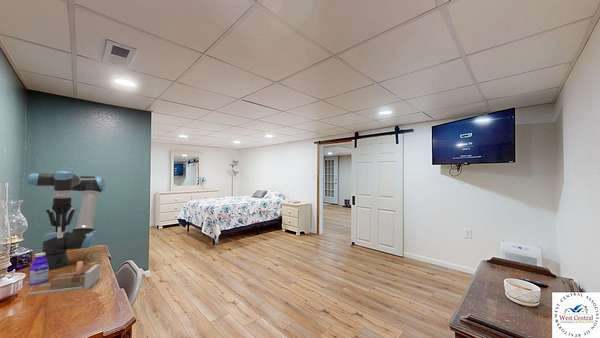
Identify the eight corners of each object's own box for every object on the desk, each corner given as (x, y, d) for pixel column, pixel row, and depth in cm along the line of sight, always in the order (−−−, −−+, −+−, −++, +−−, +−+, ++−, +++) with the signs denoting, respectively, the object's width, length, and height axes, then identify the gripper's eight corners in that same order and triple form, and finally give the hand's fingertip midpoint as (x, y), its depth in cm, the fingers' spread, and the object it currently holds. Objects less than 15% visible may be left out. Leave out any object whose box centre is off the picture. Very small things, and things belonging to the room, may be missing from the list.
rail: (38, 288, 127) (40, 269, 128) (98, 281, 138) (99, 264, 138) (22, 299, 115) (23, 278, 116) (88, 291, 126) (90, 272, 126)
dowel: (76, 283, 130) (78, 261, 130) (82, 282, 131) (83, 260, 131) (74, 284, 127) (76, 262, 128) (80, 284, 128) (81, 262, 129)
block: (58, 285, 129) (59, 274, 129) (90, 281, 134) (91, 270, 135) (50, 291, 121) (51, 279, 122) (84, 287, 127) (85, 276, 127)
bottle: (33, 288, 127) (36, 255, 128) (25, 286, 128) (28, 255, 129) (49, 282, 134) (52, 252, 135) (42, 281, 135) (45, 251, 136)
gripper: (43, 198, 131) (40, 240, 130) (73, 198, 136) (71, 238, 135) (51, 196, 138) (48, 236, 137) (79, 196, 143) (77, 235, 142)
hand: (60, 237), depth 136 cm, fingers closed
